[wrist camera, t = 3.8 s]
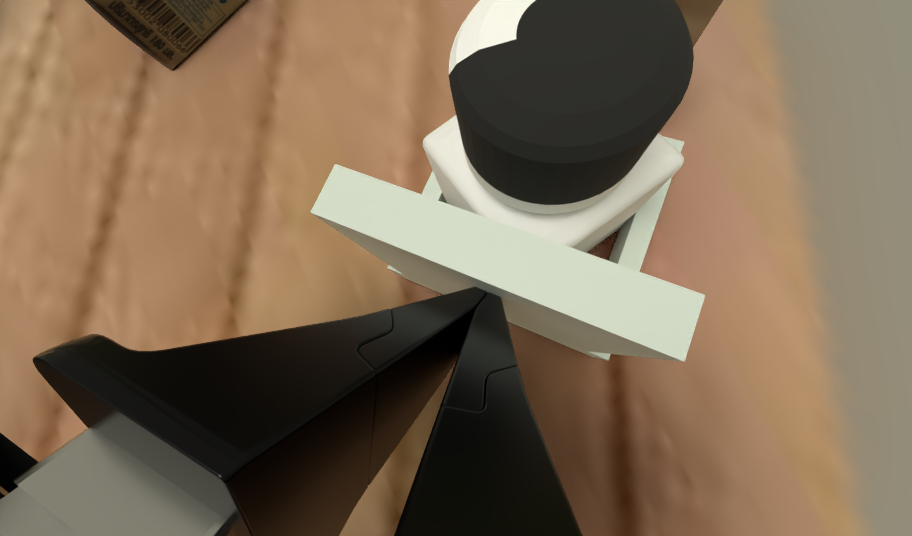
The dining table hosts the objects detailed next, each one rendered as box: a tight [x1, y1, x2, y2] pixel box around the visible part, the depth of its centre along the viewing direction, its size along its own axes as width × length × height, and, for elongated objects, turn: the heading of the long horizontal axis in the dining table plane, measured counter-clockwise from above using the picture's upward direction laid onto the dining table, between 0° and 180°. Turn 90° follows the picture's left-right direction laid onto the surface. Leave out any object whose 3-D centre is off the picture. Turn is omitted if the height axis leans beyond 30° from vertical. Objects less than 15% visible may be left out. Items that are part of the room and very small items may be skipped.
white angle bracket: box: [310, 136, 705, 362], centre depth 14 cm, size 12×12×11 cm
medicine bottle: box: [423, 0, 694, 253], centre depth 14 cm, size 7×7×12 cm
